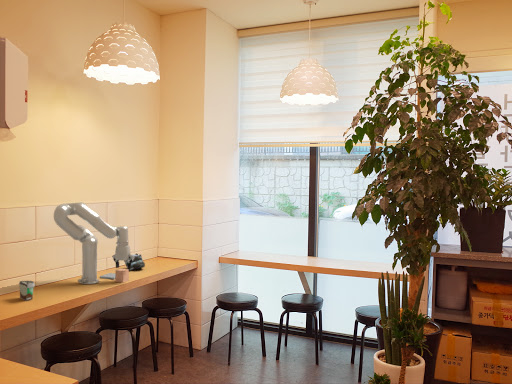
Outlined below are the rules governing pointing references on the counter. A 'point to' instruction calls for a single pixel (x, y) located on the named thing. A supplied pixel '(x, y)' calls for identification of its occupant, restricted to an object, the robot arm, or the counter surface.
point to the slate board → (108, 276)
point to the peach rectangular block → (122, 275)
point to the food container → (26, 290)
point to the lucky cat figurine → (136, 262)
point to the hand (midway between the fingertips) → (123, 268)
